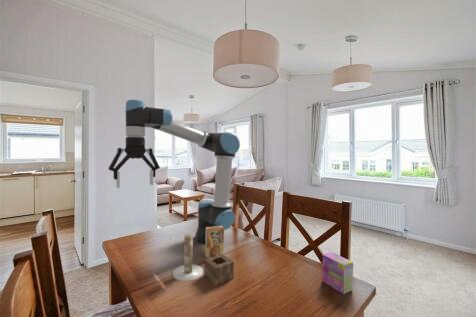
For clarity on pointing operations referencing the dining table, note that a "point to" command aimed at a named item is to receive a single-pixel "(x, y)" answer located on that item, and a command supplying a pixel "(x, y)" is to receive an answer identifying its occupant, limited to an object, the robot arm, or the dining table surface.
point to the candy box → (214, 241)
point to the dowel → (188, 253)
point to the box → (337, 272)
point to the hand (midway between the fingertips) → (135, 185)
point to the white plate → (181, 276)
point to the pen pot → (219, 269)
